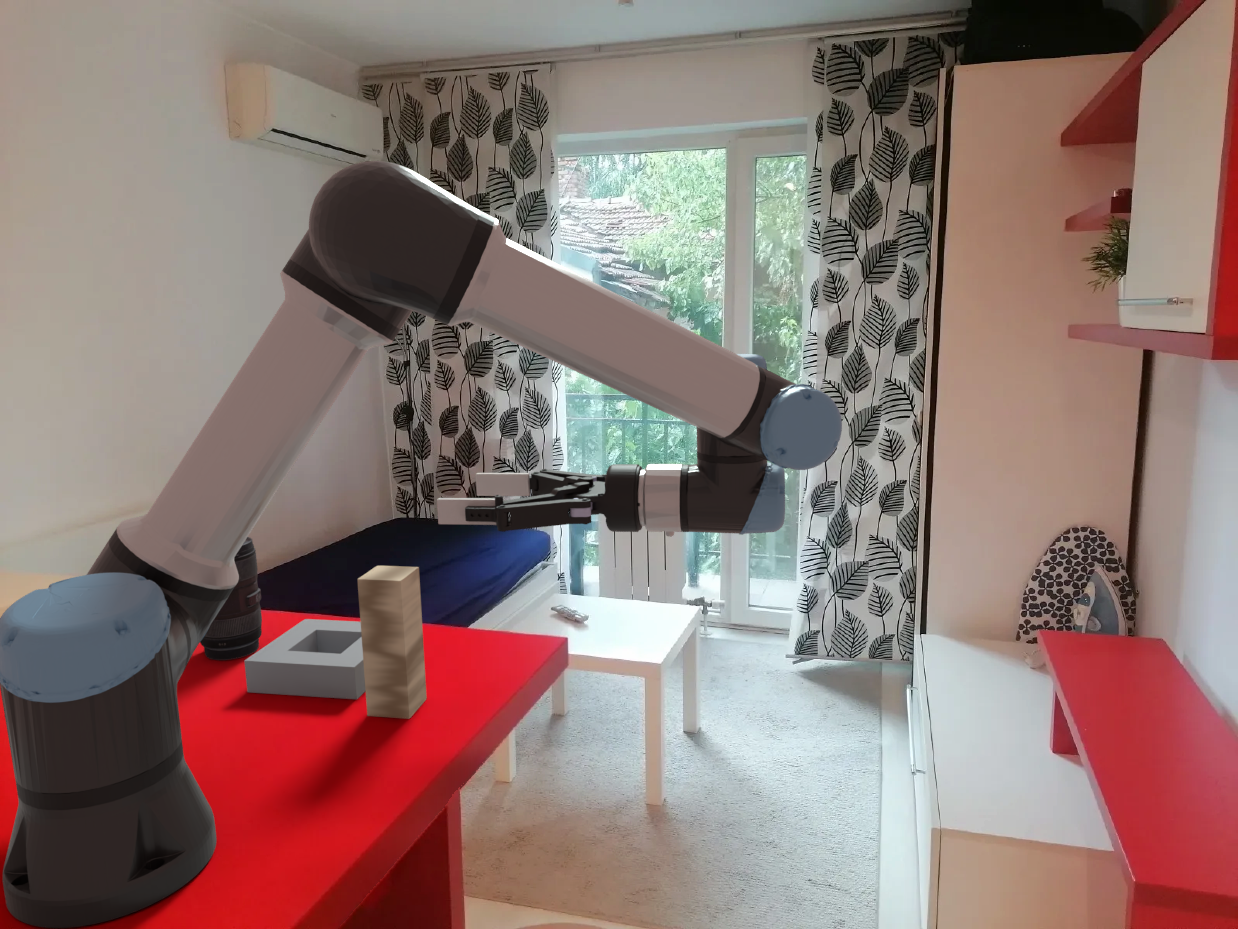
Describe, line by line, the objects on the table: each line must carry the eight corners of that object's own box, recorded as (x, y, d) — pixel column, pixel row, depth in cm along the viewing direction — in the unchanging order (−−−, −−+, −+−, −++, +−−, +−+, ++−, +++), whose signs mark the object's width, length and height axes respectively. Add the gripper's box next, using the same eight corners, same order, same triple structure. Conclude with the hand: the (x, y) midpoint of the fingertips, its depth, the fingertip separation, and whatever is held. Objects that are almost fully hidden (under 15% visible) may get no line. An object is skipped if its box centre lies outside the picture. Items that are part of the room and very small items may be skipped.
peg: (426, 698, 102) (418, 567, 99) (409, 718, 97) (400, 580, 95) (386, 696, 103) (377, 565, 100) (367, 715, 98) (357, 579, 95)
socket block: (405, 652, 116) (403, 623, 115) (356, 699, 102) (354, 667, 102) (307, 647, 118) (305, 619, 118) (247, 692, 105) (244, 660, 104)
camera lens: (246, 634, 123) (236, 531, 121) (276, 648, 118) (266, 541, 115) (188, 652, 117) (176, 544, 115) (216, 667, 112) (204, 554, 109)
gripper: (629, 564, 86) (421, 560, 89) (655, 504, 110) (492, 503, 113) (627, 489, 84) (416, 488, 88) (654, 445, 109) (488, 446, 112)
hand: (458, 496), depth 100 cm, fingers open, 13 cm apart
